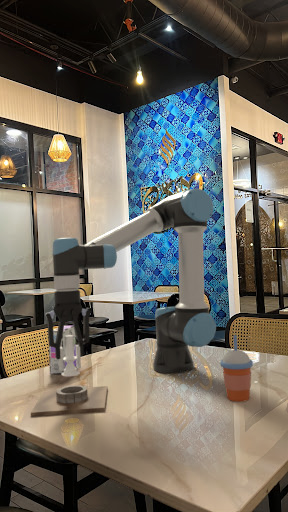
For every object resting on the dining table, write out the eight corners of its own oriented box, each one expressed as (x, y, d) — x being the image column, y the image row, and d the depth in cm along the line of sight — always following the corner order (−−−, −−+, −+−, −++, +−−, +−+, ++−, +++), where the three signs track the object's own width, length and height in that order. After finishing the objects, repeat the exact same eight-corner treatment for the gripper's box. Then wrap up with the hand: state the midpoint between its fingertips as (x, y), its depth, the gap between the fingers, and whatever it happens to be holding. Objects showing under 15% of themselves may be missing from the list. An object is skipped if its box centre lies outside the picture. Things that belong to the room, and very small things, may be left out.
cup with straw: (236, 406, 112) (232, 339, 113) (215, 397, 120) (212, 335, 121) (261, 399, 116) (258, 335, 117) (240, 391, 125) (236, 331, 125)
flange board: (107, 389, 133) (106, 378, 133) (104, 411, 113) (104, 398, 113) (44, 393, 132) (44, 382, 132) (30, 416, 112) (30, 403, 112)
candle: (59, 377, 120) (58, 335, 121) (63, 372, 126) (62, 332, 126) (77, 376, 120) (76, 334, 120) (81, 371, 125) (79, 331, 126)
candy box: (64, 374, 154) (62, 330, 154) (49, 374, 155) (47, 330, 155) (77, 365, 168) (75, 324, 168) (63, 365, 169) (61, 325, 169)
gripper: (92, 287, 130) (95, 362, 130) (35, 291, 124) (38, 369, 123) (98, 288, 123) (102, 367, 123) (38, 292, 117) (42, 375, 116)
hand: (70, 368), depth 123 cm, fingers closed on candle, 4 cm apart
